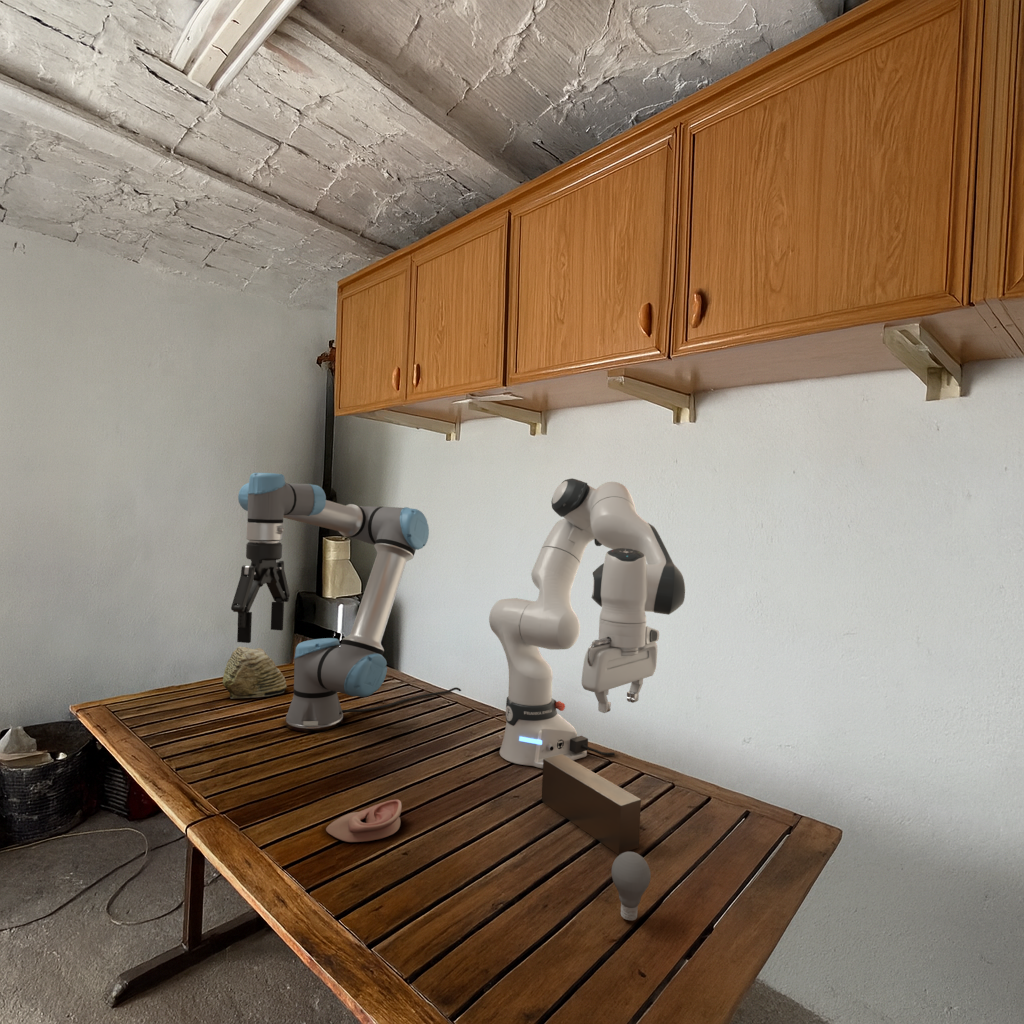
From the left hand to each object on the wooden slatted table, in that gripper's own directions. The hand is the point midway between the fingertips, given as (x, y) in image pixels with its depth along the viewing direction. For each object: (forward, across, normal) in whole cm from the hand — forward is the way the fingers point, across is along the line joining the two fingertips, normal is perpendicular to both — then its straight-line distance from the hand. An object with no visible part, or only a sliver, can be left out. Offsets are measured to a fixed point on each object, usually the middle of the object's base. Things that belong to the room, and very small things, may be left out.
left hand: (261, 635), depth 143 cm
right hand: (+6, -10, -80) cm, 80 cm away
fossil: (+31, +51, +31) cm, 67 cm away
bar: (+31, -4, -75) cm, 81 cm away
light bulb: (+31, -33, -82) cm, 94 cm away
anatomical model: (+31, -17, -32) cm, 48 cm away
